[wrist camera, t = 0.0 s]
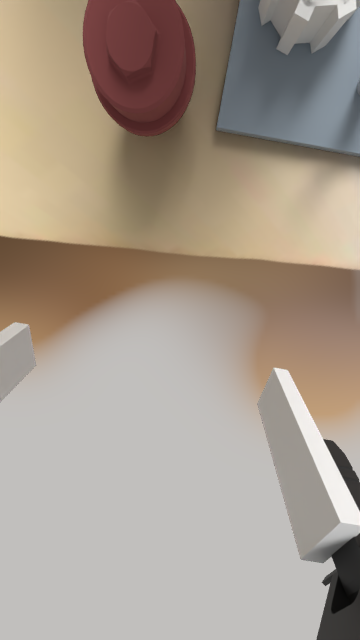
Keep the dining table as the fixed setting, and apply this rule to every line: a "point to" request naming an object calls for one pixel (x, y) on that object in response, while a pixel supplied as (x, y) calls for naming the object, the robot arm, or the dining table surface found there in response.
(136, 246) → the dining table surface
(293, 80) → the gear board
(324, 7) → the white gear
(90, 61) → the mechanical component
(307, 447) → the robot arm
